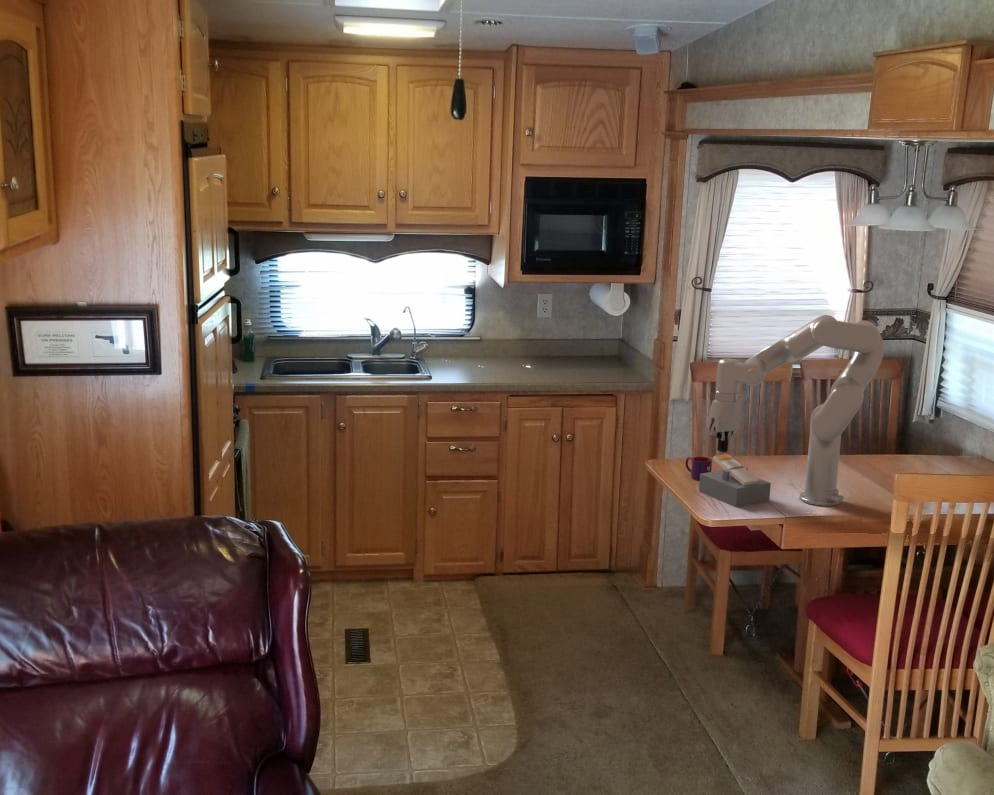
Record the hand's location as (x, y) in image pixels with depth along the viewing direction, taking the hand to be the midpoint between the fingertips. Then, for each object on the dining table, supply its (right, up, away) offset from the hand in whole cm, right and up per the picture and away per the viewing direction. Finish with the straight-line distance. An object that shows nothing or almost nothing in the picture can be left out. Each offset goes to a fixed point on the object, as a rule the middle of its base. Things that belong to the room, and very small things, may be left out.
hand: (722, 451), depth 336 cm
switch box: (+3, -14, -2) cm, 15 cm away
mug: (-5, -10, +18) cm, 21 cm away
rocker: (+3, -6, -4) cm, 8 cm away
